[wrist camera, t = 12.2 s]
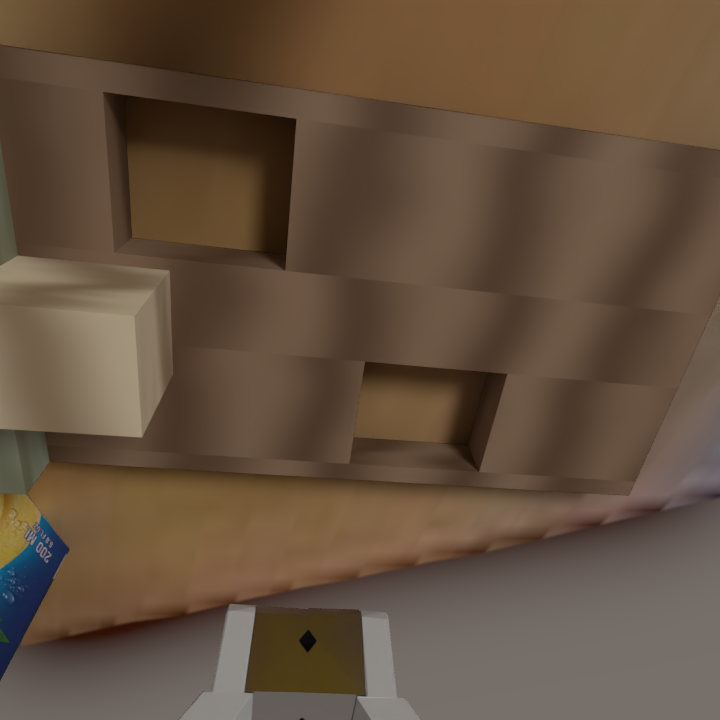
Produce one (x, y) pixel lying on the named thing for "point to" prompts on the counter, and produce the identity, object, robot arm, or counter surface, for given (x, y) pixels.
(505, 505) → the counter surface
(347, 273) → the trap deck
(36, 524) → the beverage box
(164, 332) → the block
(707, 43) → the counter surface
